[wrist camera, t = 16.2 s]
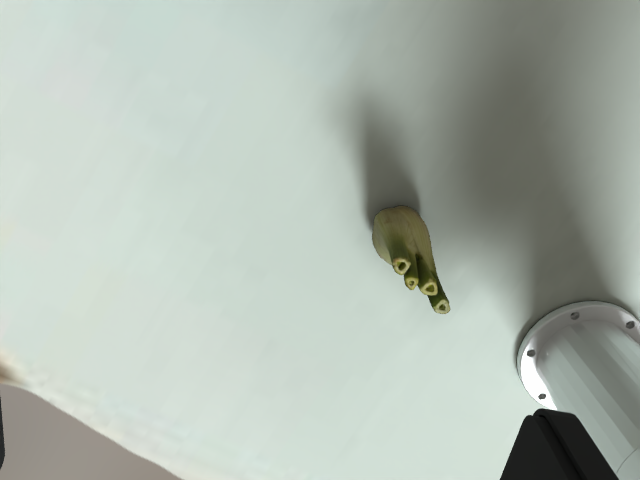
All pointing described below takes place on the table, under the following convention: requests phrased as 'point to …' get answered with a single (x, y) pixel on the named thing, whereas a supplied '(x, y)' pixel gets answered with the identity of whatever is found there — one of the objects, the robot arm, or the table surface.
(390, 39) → the table surface
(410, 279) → the fennel bulb
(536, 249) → the table surface
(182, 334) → the table surface
